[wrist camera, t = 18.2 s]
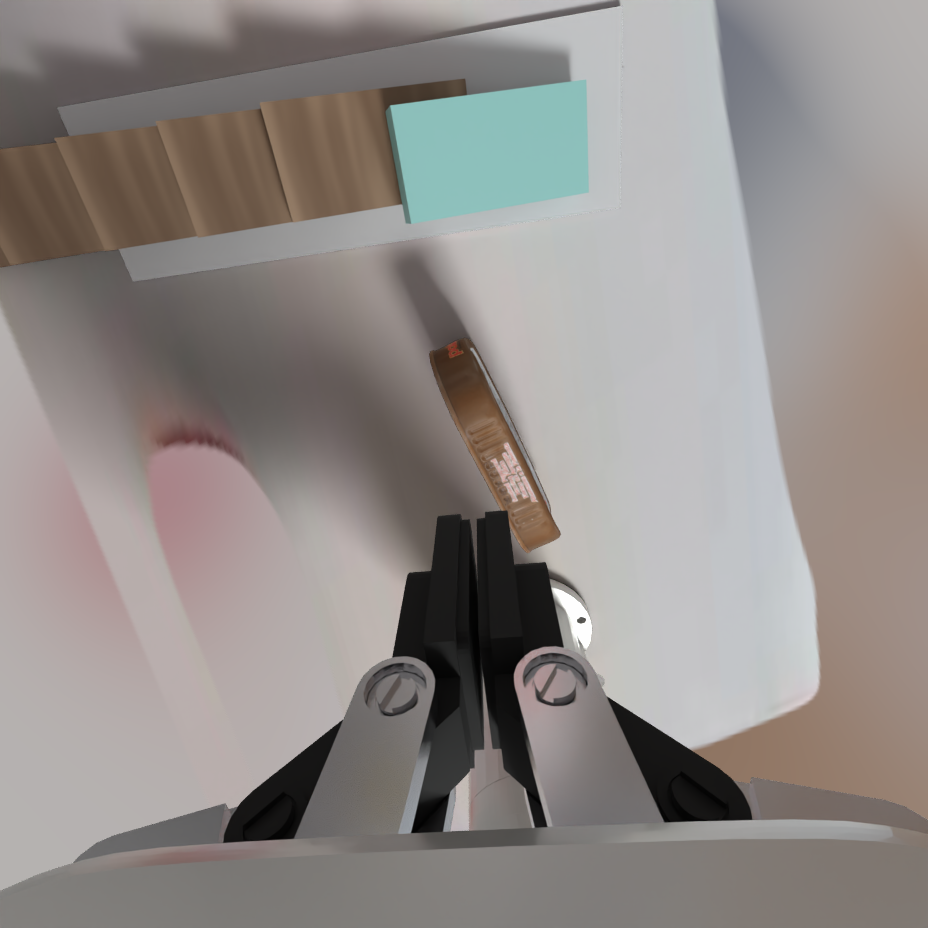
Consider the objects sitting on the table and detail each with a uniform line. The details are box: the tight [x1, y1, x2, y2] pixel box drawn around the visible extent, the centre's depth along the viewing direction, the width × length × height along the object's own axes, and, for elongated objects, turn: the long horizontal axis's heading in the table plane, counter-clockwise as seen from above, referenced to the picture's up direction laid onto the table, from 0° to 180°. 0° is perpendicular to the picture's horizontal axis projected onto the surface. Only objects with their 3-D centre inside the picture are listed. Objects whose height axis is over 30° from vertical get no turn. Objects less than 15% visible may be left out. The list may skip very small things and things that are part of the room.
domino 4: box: [260, 79, 467, 223], centre depth 26 cm, size 2×5×10 cm
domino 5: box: [385, 80, 589, 224], centre depth 26 cm, size 2×5×10 cm
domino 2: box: [55, 126, 197, 251], centre depth 27 cm, size 2×5×10 cm
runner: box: [57, 6, 623, 282], centre depth 28 cm, size 30×9×1 cm, turn 98°
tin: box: [429, 338, 561, 553], centre depth 32 cm, size 15×3×8 cm, turn 26°
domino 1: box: [0, 143, 105, 265], centre depth 27 cm, size 2×5×10 cm
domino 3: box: [155, 109, 292, 238], centre depth 26 cm, size 2×5×10 cm
